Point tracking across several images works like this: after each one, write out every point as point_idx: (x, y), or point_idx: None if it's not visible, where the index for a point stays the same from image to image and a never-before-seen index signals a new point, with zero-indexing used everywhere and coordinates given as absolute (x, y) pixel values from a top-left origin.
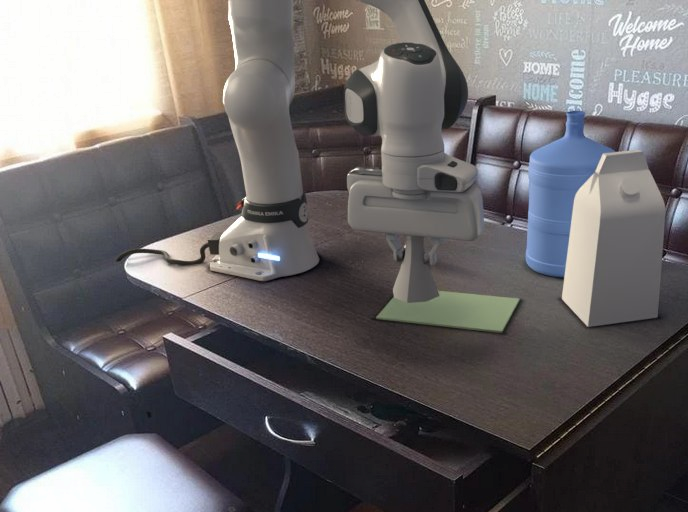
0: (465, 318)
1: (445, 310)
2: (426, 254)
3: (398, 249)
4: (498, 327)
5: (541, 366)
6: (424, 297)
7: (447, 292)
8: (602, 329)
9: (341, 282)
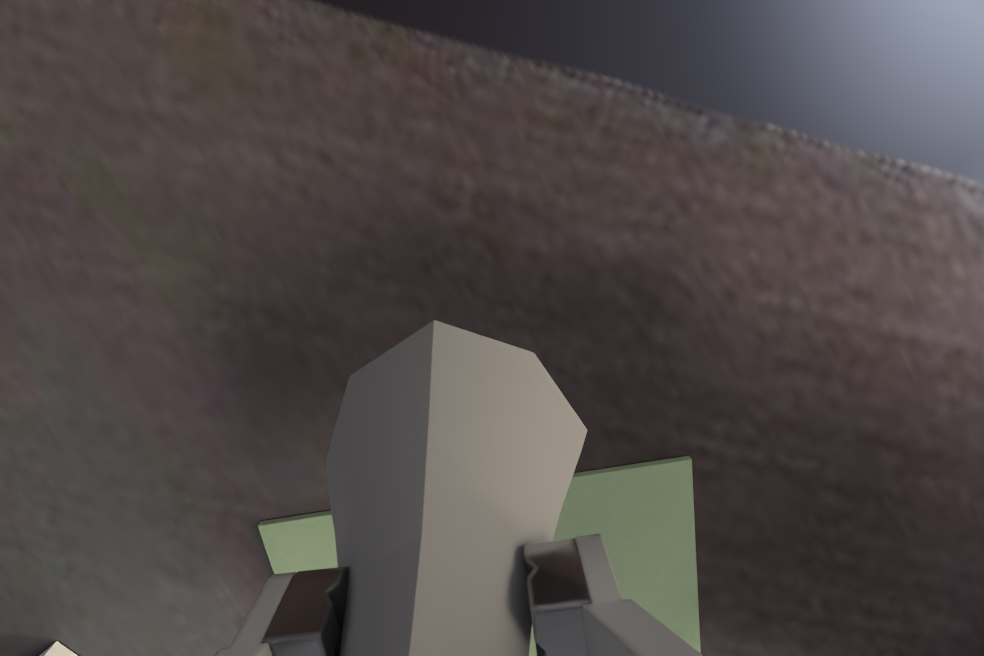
0: None
1: None
2: (291, 638)
3: (587, 636)
4: (279, 541)
5: (30, 382)
6: (354, 387)
7: None
8: (14, 643)
9: (913, 625)
